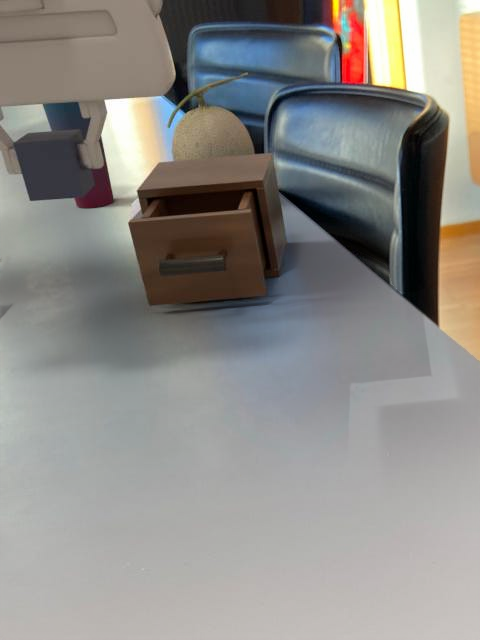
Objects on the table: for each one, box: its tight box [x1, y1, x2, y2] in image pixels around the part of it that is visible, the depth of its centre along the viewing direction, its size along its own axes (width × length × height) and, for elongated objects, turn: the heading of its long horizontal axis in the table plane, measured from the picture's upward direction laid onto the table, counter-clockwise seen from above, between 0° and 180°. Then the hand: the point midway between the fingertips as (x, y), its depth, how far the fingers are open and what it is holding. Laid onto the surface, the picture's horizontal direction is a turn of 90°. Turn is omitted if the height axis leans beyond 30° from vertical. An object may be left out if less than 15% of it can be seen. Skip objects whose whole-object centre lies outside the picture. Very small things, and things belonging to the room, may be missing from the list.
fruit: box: [166, 72, 256, 161], centre depth 132 cm, size 10×12×15 cm
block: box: [13, 129, 95, 202], centre depth 77 cm, size 4×4×4 cm
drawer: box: [127, 189, 268, 307], centre depth 100 cm, size 17×11×8 cm
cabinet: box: [136, 152, 288, 279], centre depth 110 cm, size 14×13×10 cm
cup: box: [42, 102, 115, 209], centre depth 136 cm, size 7×7×15 cm
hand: (56, 170), depth 77 cm, fingers closed on block, 4 cm apart
